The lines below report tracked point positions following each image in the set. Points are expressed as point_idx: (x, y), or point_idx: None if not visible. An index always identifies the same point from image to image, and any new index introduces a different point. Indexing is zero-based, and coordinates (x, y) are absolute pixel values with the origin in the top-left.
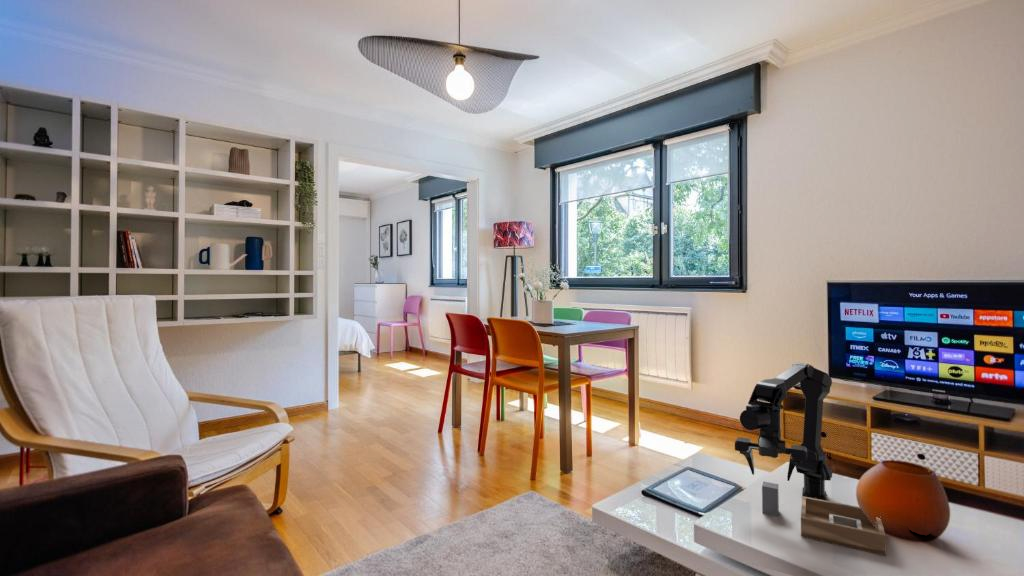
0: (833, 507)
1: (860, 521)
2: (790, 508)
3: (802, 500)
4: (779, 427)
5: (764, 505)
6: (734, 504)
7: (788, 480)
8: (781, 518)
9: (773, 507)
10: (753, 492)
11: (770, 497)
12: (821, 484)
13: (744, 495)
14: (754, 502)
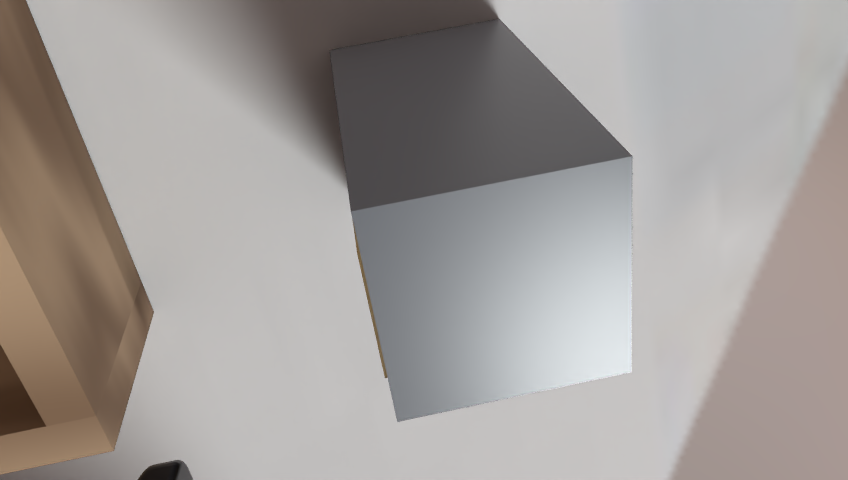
0: None
1: None
2: (284, 339)
3: (38, 323)
4: None
5: (499, 50)
6: (809, 40)
7: (157, 468)
8: (277, 17)
9: (387, 72)
10: (648, 436)
11: (445, 111)
12: None
13: (718, 329)
14: None
